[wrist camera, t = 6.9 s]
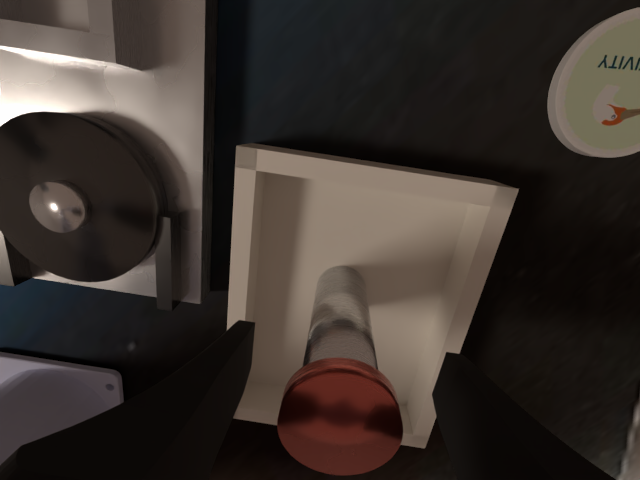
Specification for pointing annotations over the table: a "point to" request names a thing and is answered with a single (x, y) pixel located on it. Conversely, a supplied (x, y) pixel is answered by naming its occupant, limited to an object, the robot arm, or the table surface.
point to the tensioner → (108, 144)
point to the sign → (600, 90)
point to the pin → (340, 386)
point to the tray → (359, 265)
